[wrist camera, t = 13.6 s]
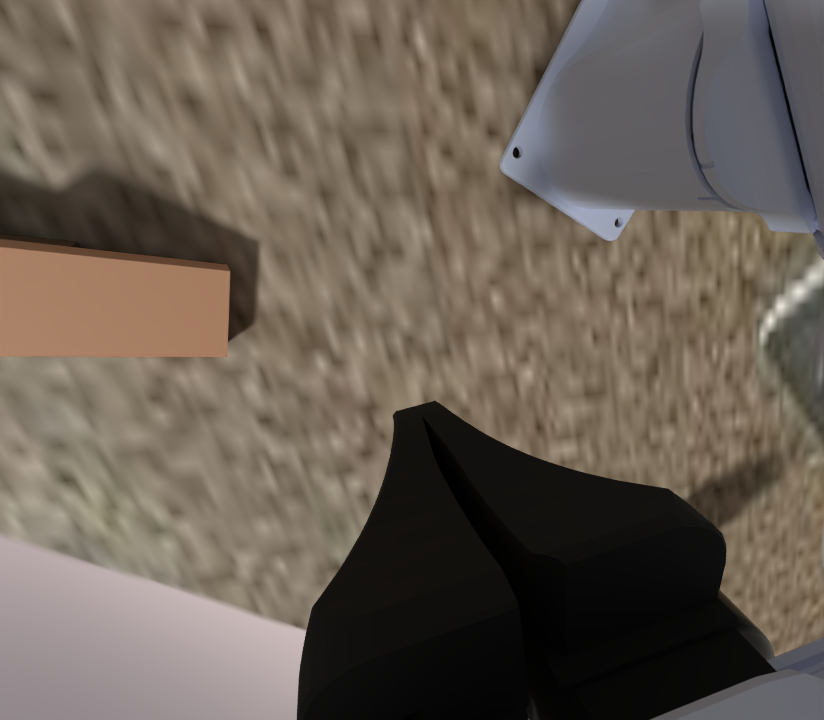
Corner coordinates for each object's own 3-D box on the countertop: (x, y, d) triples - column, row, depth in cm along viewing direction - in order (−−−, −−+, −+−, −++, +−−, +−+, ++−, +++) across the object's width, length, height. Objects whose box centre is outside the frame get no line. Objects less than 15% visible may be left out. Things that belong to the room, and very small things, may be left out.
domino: (230, 271, 16) (-41, 243, 12) (227, 356, 18) (-19, 356, 14) (227, 264, 18) (-20, 236, 14) (224, 344, 19) (-1, 341, 15)
